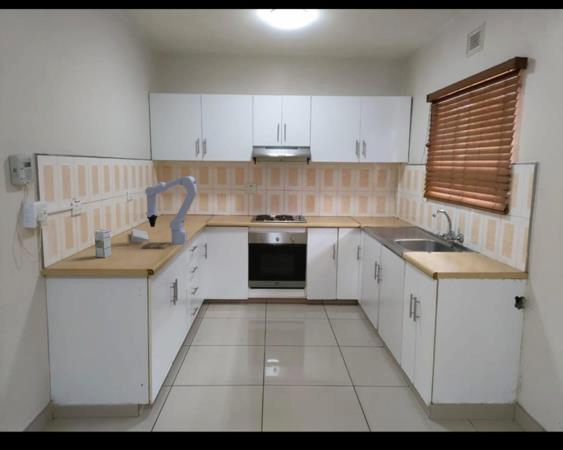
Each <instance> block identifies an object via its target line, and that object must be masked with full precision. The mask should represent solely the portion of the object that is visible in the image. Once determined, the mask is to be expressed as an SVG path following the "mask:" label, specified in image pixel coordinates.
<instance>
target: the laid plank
mask: <svg viewBox="0 0 563 450" xmlns="http://www.w3.org/2000/svg"><path fill="white" fill-rule="evenodd" d="M170 243H171V242H169V241H168V242H164V241H163V242H160V243H159V244H157V245H156V246H154V249H153V250H166V249H167V248H169V247H170V246H171V245H170ZM169 245H170V246H169ZM168 246H169V247H168ZM166 247H167V248H166ZM165 248H166V249H165Z"/></svg>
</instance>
